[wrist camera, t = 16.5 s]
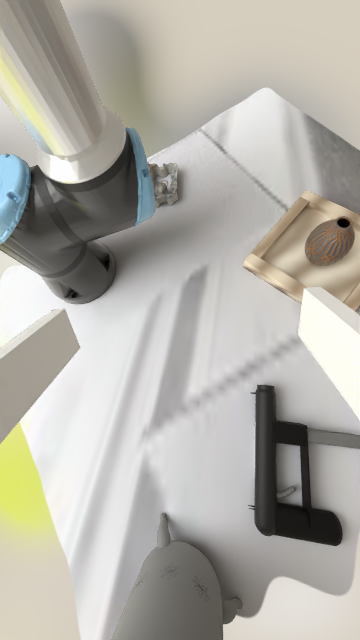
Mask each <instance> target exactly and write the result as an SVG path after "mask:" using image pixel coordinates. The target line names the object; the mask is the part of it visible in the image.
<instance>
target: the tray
mask: <svg viewBox="0 0 360 640" xmlns="http://www.w3.org/2000/svg"><path fill="white" fill-rule="evenodd" d="M341 216H346V217H349V218H350V219H351V220H352V222H353V225H352V227H353V229H354V232H355V240H354V244H353V246H352V248H351V250H350V251H349V252H348V254H347V255H346V256H345V257H344V258H342V259H341V260H340V261H338V262H336V263H334V264H331V265H326V266H321V265H316V264H314V263H312V262H310V261H309V260H308V258H307V257H306V255H305V243H306V240H307V238H308V236H309V235H310V233H311V232H312V231H313V230H314V229H315V228H316V227H317V226H318V225H320V224H321V223H323V222H325V221H328V220H333V219H337V218H338V217H341ZM243 267H244V268H245V269H247V270H248V271H250V272H252V273H253V274H255V275H256V276H258V277H259V278H261V279H262V280H264V281H266V282H267V283H269V284H270V285H272V286H273V287H275V288H276V289H278V290H280V291H281V292H283V293H284V294H286V295H287V296H289V297H290V298H292V299H294V300H295V301H297V302H298V303H300V304H301V305H302V299H303V292H304V288H311V287H321V288H323V289H324V290H326V291H327V292H328V293H330V294H331V295H333V296H334V297H335V298H337V299H338V300H340V301H341V302H342V303H344V304H345V305H347V306H348V307H349V308H351V309H352V310H354V311H356V309H357V308H358V307H359V305H360V215H359V214H357V213H355V212H352V211H350V210H348V209H346V208H344V207H342V206H340V205H337V204H335V203H333V202H331V201H329V200H327V199H324V198H322V197H320V196H318V195H316V194H314V193H311V192H309V191H307V190H306V191H305V192H304V193H303V194H302V195H301V197H300V198H299V199H298V200H297V201H296V202H295V203H294V204H293V206H292V207H291V208H290V209H289V210H288V211H287V212H286V214H285V215H284V216H283V217H282V218H281V219H280V220H279V222H278V223H277V224H276V225H275V226H274V227H273V228H272V229H271V231H270V232H269V233H268V234H267V235H266V236H265V237H264V239H263V240H262V241H261V242H260V243H259V244H258V245H257V246H256V248H255V249H254V250H253V251H252V252H251V253H250V254H249V256H248V257H247V258H246V259H245V260H244V265H243Z"/></svg>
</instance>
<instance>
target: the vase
mask: <svg viewBox="0 0 360 640" xmlns="http://www.w3.org/2000/svg"><path fill="white" fill-rule="evenodd" d="M352 225H353V222H352V220H351V219H350V218H349V217H346V216H341V217H338V218H337V219H333V220H328V221H325V222H323V223H321V224H320V225H318V226H317V227H316V228H315V229H314V230H313V231H312V232H311V233H310V235H309V236H308V238H307V240H306V243H305V255H306V257H307V258H308V260H309V261H310V262H312V263H314V264H316V265H321V266H326V265H331V264H334V263H336V262H338V261H340V260H341V259H342V258H344V257H345V256H346V255H347V254H348V252H349V251H350V250H351V248H352V246H353V244H354V240H355V232H354V229H353V227H352Z"/></svg>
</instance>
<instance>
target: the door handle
mask: <svg viewBox="0 0 360 640" xmlns="http://www.w3.org/2000/svg"><path fill="white" fill-rule="evenodd" d="M252 394H256V420H255V423H254V426H255V506H251V507H255V509H253V508H249V509H253V510H255V524H256V527H257V529H258V530H259V531H260V532H261V533H262V534H263V535H265V536H271V535H278V536H283V537H289V538H294V539H300V540H305V541H311V542H316V543H321V544H327V545H332V546H337V545H339V544H340V543H341V540H342V527H341V524H340V521H339V519H338V518H337V516H336V515H335V514H334V513H333V512H330V511H325V510H319V509H313V508H311V494H310V474H309V454H308V442H313V443H320V444H328V445H336V446H343V447H351V448H358V449H360V436H358V435H353V434H345V433H338V432H330V431H322V430H315V429H307V426H306V425H303V424H300V423H292V422H284V421H277V420H276V404H275V392H274V386H267V385H257V390H256V393H255V392H253V393H252ZM276 443H283V444H291V445H298V446H300V455H301V479H302V504H303V507H301V506H295V505H289V504H283V503H277V498H282V497H286V496H288V495H290V494H291V493H293V492H294V491H295V489H294V488H293V487H292V486H291V487H289V488H288V489H286V490H285V491H283V492H280V493H277V477H276ZM248 506H250V505H248Z"/></svg>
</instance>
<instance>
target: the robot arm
mask: <svg viewBox="0 0 360 640" xmlns="http://www.w3.org/2000/svg"><path fill="white" fill-rule="evenodd" d="M0 96H1V97H2V99H3V100H4V101H5V103H6V104H7V105H8V107H9V108H10V109H11V110H12V112H13V113H14V114H15V116H16V117H17V118H18V120H19V121H20V122H21V124H22V125H23V126H24V128H25V129H26V130H27V131H28V133H29V134H30V135H31V137H32V138H33V139H34V140H35V142H36V160H37V164H38V165H36V166H33V167H29V166H28V164H27V162H25V161H24V160H22V159H21V158H20V157H18V156H16V155H10V154H3V155H0V250H1V251H3V252H4V253H6V254H8V255H9V256H10V257H12V258H14V259H15V260H17V261H18V262H20V263H22V264H23V265H25V266H26V267H28V268H30V269H31V270H33V271H34V272H36V273H38V274H39V275H40V276H41V277H42V278H43V280H44V281H45V283H46V284H47V285H48V287H49V288H50V290H51V291H52V292H53V293H54V294H55V295H56V296H57V297H59V298H61V299H62V300H64V301H66V302H69V303H73V304H83V303H87V302H90V301H92V300H94V299H96V298H98V297H99V296H101V295H102V294H103V293H104V292H105V291H106V290H107V289H108V287H109V286H110V284H111V283H112V281H113V278H114V275H115V270H116V265H115V260H114V257H113V255H112V254H111V252H110V251H109V250H108V248H107V247H106V246H105V245H104V244H102V243H101V242H99V241H98V240H96V239H99V238H101V237H104V236H107V235H110V234H113V233H116V232H118V231H121V230H124V229H127V228H130V227H133V226H136V225H138V223H141V222H143V221H145V220H147V219H149V218H151V217H152V216H153V214H154V212H155V207H156V205H155V196H154V190H153V184H152V180H151V176H150V173H149V168H148V163H147V159H146V155H145V152H144V149H143V145H142V142H141V139H140V137H139V134H138V132H137V131H136V130H135V129H134V128H125V127H124V124H123V122H122V120H121V118H120V117H119V116H118V114H117V113H116V112H114V111H112V110H111V109H110V108H107V107H105V106H103V105H102V103H101V100H100V98H99V95H98V93H97V90H96V88H95V85H94V83H93V80H92V78H91V75H90V73H89V71H88V68H87V66H86V63H85V61H84V58H83V56H82V53H81V51H80V49H79V46H78V44H77V41H76V39H75V36H74V34H73V31H72V29H71V26H70V24H69V21H68V19H67V17H66V14H65V12H64V9H63V7H62V4H61V2H60V0H0ZM298 336H299V337H300V338H301V340H302V341H303V342H304V344H305V345H306V347H307V348H308V349H309V351H310V352H311V353H312V355H313V356H314V358H315V359H316V360H317V362H318V363H319V364H320V366H321V367H322V369H323V370H324V371H325V373H326V374H327V376H328V377H329V378H330V380H331V381H332V382H333V384H334V385H335V387H336V388H337V389H338V391H339V392H340V393H341V395H342V396H343V398H344V399H345V400H346V402H347V403H348V404H349V406H350V407H351V409H352V410H353V411H354V413H355V414H356V415H357V417H358V418H359V420H360V315H359V314H358V313H356V312H355V311H354V310H352V309H351V308H349V307H348V306H347V305H345V304H344V303H342V302H341V301H340V300H338V299H337V298H335V297H334V296H333V295H331V294H330V293H328V292H327V291H326V290H324V289H323V288H321V287H311V288H304V292H303V299H302V307H301V314H300V322H299V330H298ZM79 349H80V346H79V343H78V341H77V338H76V336H75V333H74V331H73V328H72V326H71V323H70V321H69V318H68V315H67V313H66V310H65V309H55V310H52V311H50V312H49V313H48V314H46V315H45V316H43V317H42V318H41V319H39V320H38V321H37V322H35V323H34V324H32V325H31V326H30V327H28V328H27V329H25V330H24V331H23V332H21V333H20V334H19V335H17V336H16V337H14V338H13V339H12V340H10V341H9V342H7V343H6V344H5V345H3V346H2V347H1V348H0V444H1V442H2V441H3V440H4V439H5V438H6V436H7V435H8V434H9V433H10V432H11V430H12V429H13V428H14V427H15V426H16V424H17V423H18V422H19V421H20V420H21V418H22V417H23V416H24V415H25V414H26V412H27V411H28V410H29V409H30V408H31V406H32V405H33V404H34V403H35V402H36V400H37V399H38V398H39V397H40V396H41V394H42V393H43V392H44V391H45V390H46V388H47V387H48V386H49V385H50V384H51V382H52V381H53V380H54V379H55V378H56V376H57V375H58V374H59V373H60V372H61V370H62V369H63V368H64V367H65V366H66V364H67V363H68V362H69V361H70V360H71V358H72V357H73V356H74V355H75V354H76V352H77V351H78V350H79Z"/></svg>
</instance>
